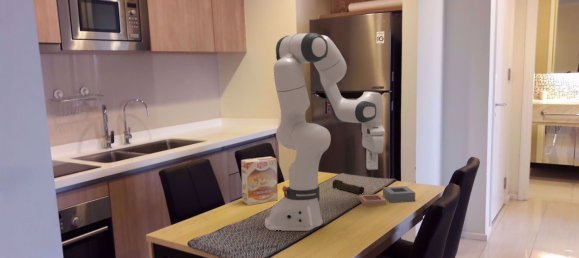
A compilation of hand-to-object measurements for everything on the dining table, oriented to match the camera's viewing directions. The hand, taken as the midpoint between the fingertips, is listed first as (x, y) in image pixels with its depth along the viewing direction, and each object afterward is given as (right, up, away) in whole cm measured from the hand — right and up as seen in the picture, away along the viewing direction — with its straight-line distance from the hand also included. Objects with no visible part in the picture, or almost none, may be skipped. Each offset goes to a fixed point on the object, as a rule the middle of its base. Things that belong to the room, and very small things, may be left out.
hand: (371, 160), depth 191 cm
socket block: (+13, -18, +7) cm, 23 cm away
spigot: (0, -4, 0) cm, 4 cm away
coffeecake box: (-49, -19, +9) cm, 54 cm away
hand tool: (-8, -17, +22) cm, 29 cm away
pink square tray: (+1, -19, +2) cm, 19 cm away
